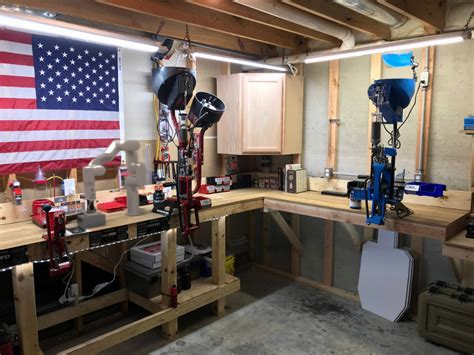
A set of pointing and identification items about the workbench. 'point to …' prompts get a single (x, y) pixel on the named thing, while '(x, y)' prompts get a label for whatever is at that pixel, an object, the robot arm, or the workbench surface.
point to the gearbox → (91, 220)
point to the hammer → (74, 216)
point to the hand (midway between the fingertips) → (90, 208)
